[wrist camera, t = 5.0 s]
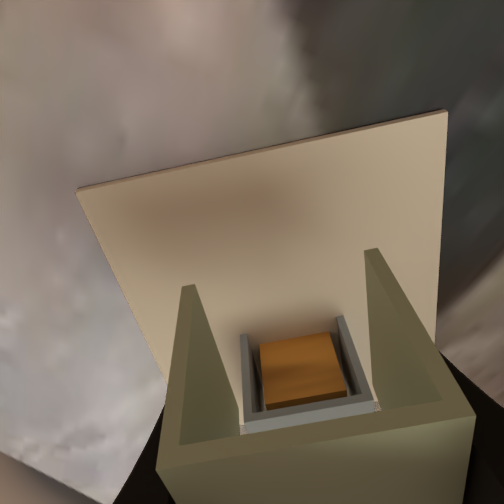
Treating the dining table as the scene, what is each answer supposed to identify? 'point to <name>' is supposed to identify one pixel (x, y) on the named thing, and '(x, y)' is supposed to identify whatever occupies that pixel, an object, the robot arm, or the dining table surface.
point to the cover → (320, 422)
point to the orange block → (300, 371)
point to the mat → (279, 237)
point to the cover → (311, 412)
